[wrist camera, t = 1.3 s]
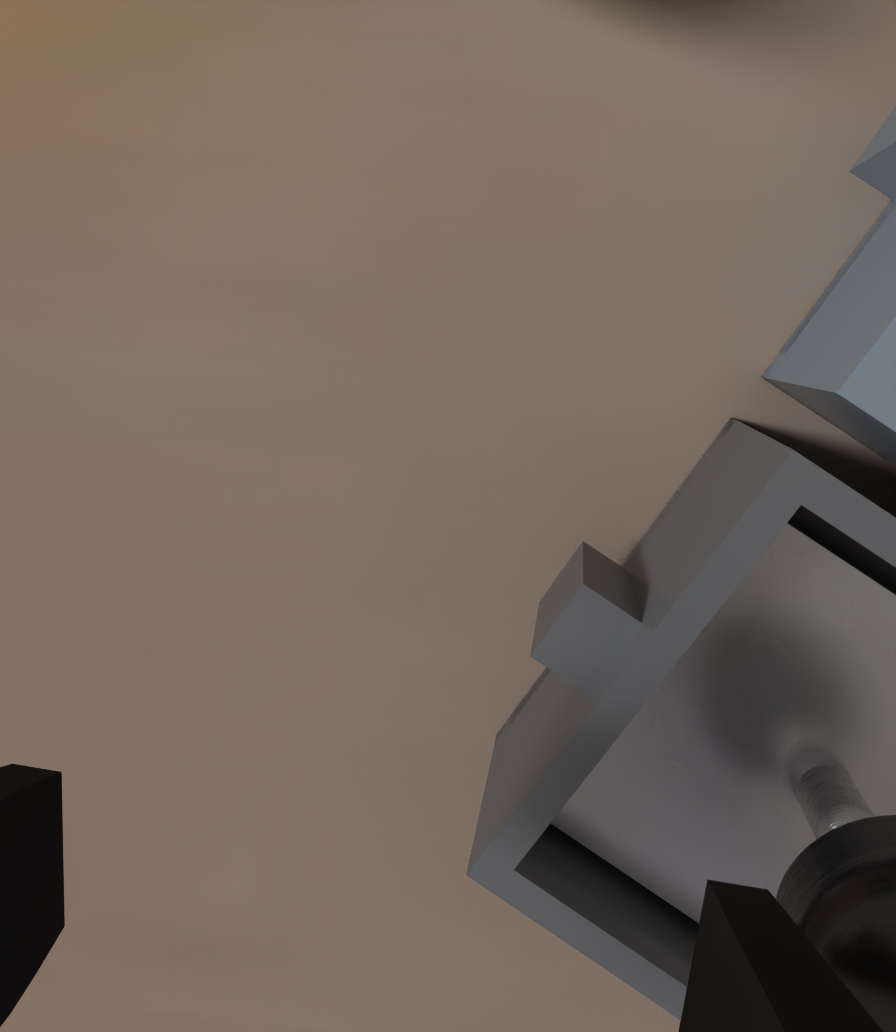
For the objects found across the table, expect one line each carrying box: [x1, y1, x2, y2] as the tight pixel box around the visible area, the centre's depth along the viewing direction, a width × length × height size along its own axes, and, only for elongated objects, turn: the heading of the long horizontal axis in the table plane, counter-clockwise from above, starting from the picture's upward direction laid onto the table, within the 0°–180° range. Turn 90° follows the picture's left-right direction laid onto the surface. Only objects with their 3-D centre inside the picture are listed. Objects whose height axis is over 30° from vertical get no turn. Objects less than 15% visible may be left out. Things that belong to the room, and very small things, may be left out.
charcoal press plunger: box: [551, 522, 896, 1032], centre depth 13 cm, size 7×7×6 cm
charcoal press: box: [466, 417, 896, 1020], centre depth 16 cm, size 10×9×6 cm
